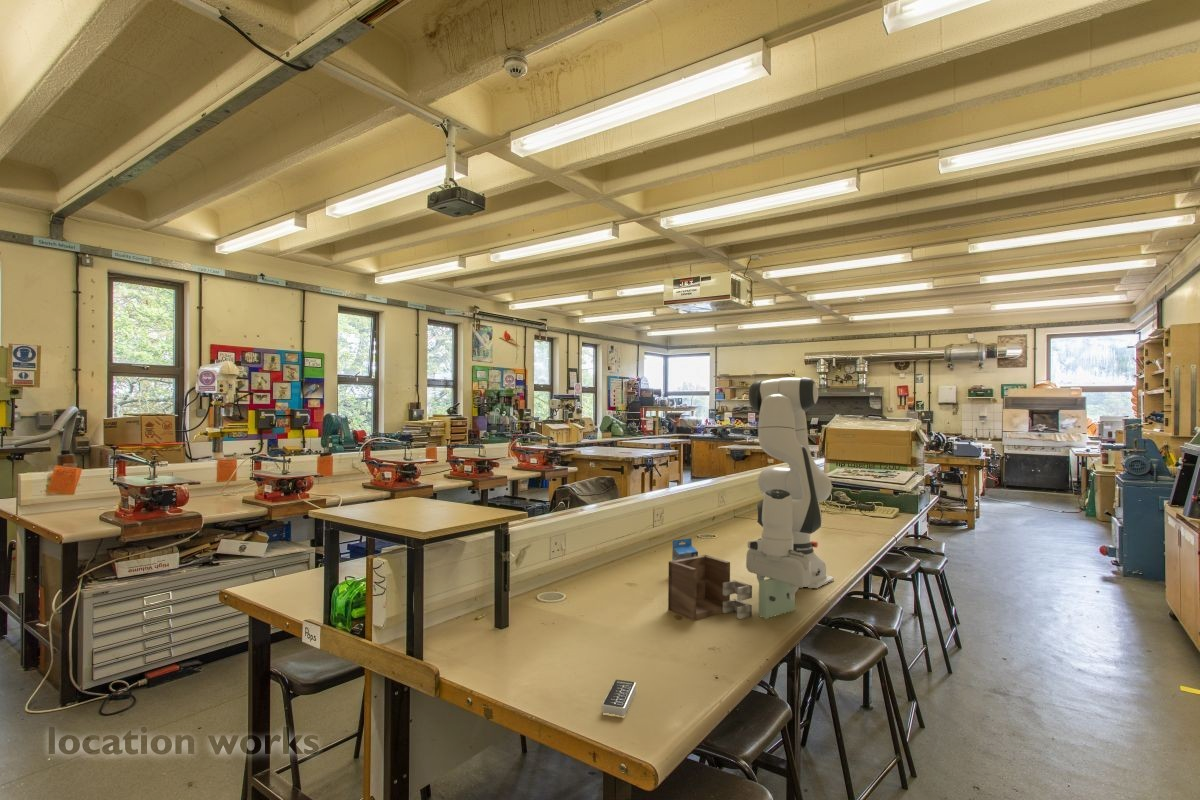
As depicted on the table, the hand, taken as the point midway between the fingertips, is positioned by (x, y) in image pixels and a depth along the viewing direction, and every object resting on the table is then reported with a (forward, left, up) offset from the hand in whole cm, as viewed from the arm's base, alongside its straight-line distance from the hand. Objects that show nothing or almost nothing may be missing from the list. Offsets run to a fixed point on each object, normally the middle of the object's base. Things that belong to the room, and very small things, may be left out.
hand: (776, 594), depth 164 cm
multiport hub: (+68, +16, -6) cm, 71 cm away
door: (0, 0, -5) cm, 5 cm away
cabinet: (+16, -11, -5) cm, 20 cm away
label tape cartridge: (-4, -43, -6) cm, 43 cm away
